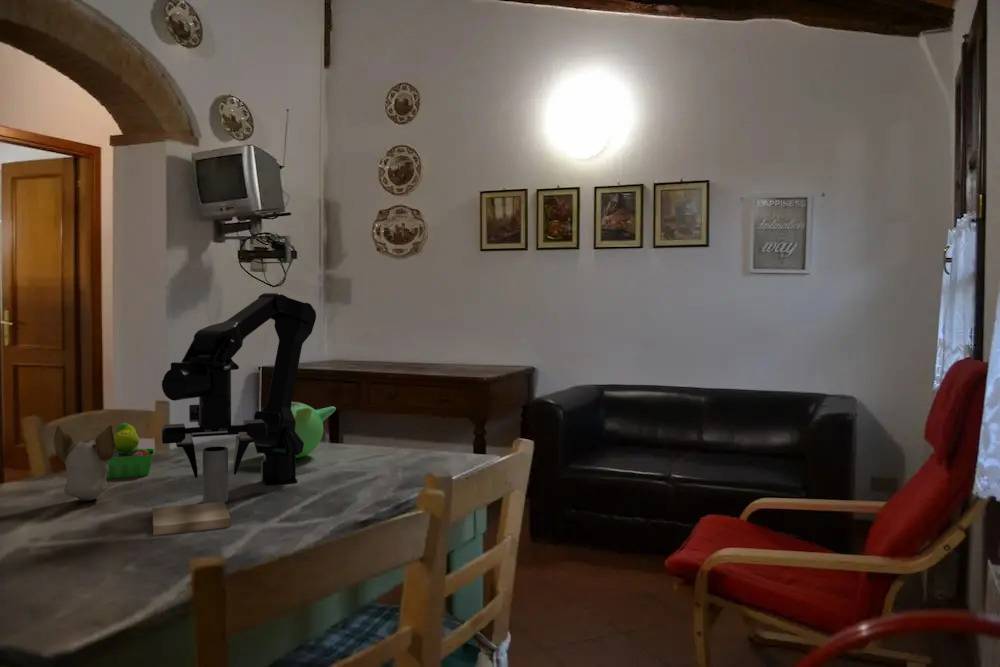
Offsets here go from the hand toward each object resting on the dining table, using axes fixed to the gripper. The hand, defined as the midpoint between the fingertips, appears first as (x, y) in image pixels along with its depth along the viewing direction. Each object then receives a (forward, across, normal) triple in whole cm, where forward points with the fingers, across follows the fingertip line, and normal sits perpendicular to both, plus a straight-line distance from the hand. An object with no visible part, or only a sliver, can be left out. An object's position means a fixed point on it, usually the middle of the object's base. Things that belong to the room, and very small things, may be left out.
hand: (215, 475), depth 143 cm
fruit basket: (+5, +16, -31) cm, 35 cm away
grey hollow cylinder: (+5, 0, 0) cm, 5 cm away
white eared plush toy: (+5, +22, -9) cm, 24 cm away
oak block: (+6, +5, +12) cm, 14 cm away
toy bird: (+5, -21, -36) cm, 42 cm away
